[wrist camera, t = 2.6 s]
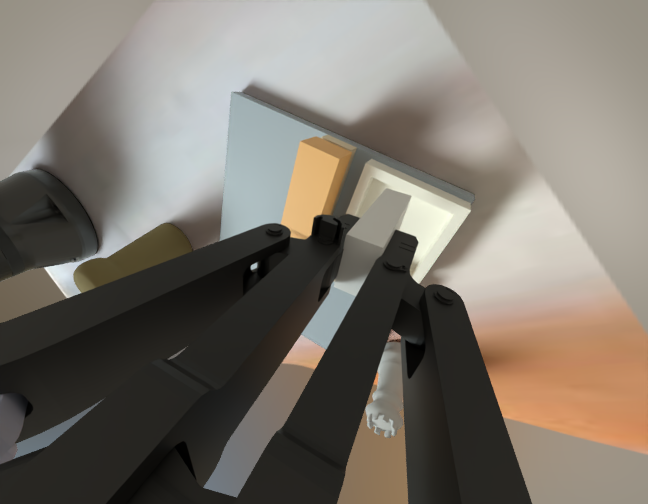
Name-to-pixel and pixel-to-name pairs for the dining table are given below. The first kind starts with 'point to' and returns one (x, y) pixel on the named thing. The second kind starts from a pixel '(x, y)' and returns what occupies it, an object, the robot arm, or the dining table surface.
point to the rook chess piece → (387, 393)
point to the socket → (413, 211)
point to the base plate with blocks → (274, 180)
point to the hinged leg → (313, 184)
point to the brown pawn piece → (133, 257)
